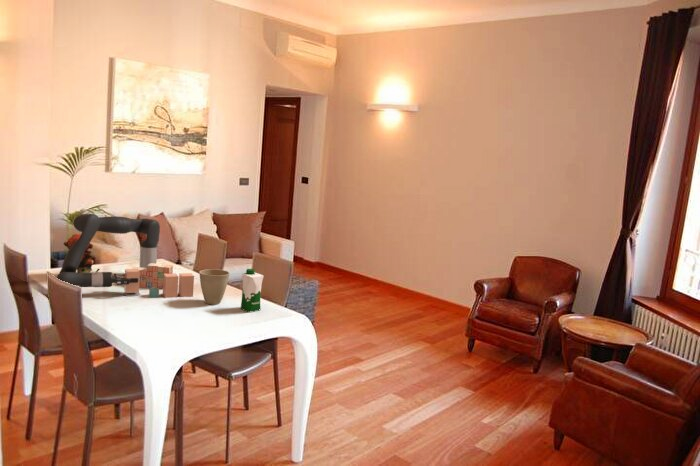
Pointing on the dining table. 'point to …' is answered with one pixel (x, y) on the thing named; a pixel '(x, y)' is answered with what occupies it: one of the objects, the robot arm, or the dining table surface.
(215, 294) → the plant pot
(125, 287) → the salmon pink rectangular block
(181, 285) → the peach rectangular block
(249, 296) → the milk carton
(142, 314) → the dining table surface
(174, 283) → the salmon rectangular block
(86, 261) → the stuffed monkey
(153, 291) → the green cube
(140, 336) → the dining table surface
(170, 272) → the stack of blocks
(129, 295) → the grey round disc
